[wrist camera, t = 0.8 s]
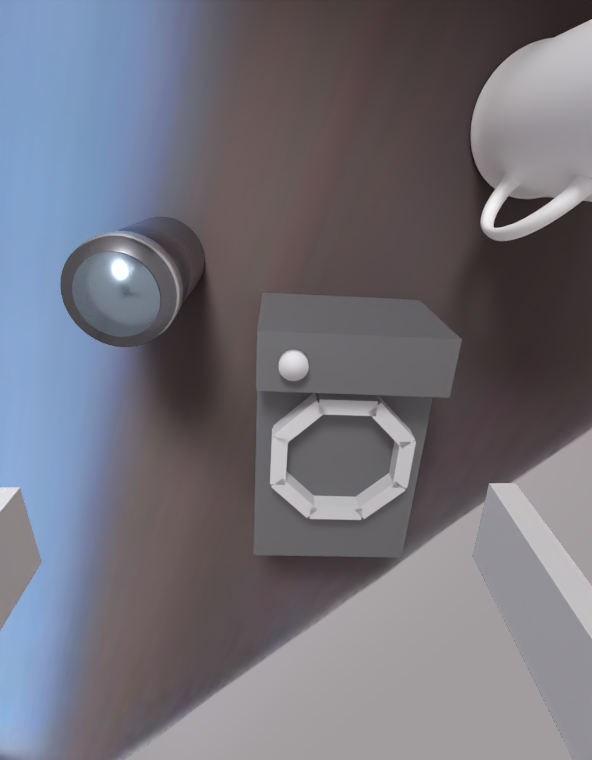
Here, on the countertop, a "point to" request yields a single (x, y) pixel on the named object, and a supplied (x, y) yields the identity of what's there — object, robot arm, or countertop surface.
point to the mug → (537, 130)
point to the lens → (132, 280)
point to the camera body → (343, 420)
